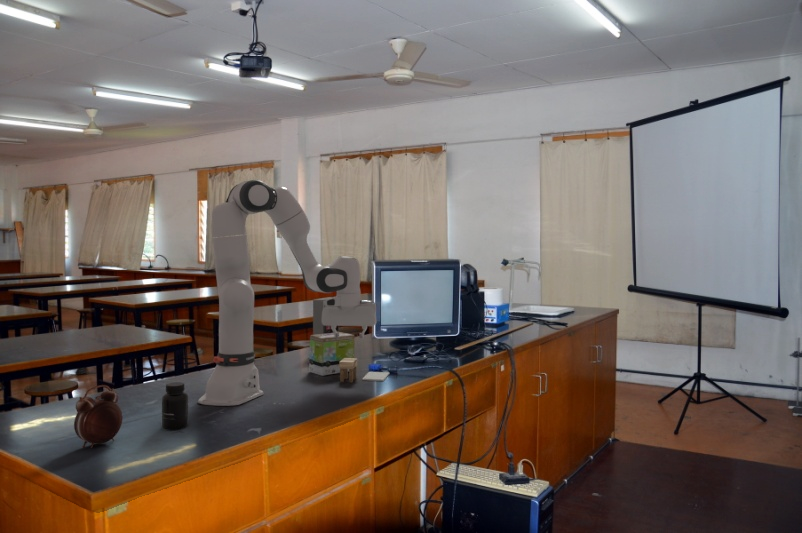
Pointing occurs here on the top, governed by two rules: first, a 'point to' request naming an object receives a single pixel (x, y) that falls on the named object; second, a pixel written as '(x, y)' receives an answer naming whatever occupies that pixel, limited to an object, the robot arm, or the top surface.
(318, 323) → the grey game cartridge
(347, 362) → the tan pronged block
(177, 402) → the supplement bottle
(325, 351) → the tea box
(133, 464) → the top surface
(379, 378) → the mat
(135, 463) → the top surface
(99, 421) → the alarm clock
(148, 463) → the top surface
